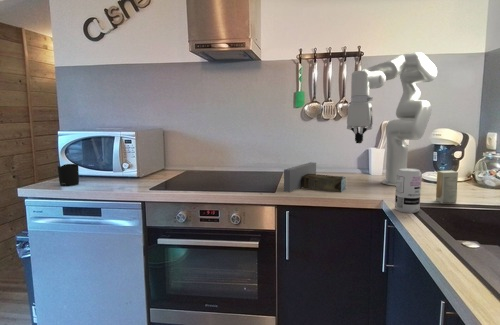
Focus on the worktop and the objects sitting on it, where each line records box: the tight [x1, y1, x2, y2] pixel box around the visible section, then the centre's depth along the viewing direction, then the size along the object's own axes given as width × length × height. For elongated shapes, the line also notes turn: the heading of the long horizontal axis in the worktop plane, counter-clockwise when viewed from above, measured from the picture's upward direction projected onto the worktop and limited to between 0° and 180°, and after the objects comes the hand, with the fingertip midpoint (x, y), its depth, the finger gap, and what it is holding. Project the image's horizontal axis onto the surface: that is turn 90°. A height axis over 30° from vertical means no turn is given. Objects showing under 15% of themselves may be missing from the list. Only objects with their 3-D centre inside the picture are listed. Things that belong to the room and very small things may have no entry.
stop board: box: [283, 161, 317, 193], centre depth 174 cm, size 3×28×10 cm, turn 145°
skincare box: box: [435, 170, 459, 204], centre depth 143 cm, size 6×4×12 cm
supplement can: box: [394, 167, 423, 214], centre depth 130 cm, size 8×8×15 cm
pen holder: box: [56, 163, 80, 187], centre depth 182 cm, size 9×9×10 cm
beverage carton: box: [301, 173, 347, 193], centre depth 169 cm, size 8×19×7 cm, turn 61°
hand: (358, 143), depth 157 cm, fingers closed
